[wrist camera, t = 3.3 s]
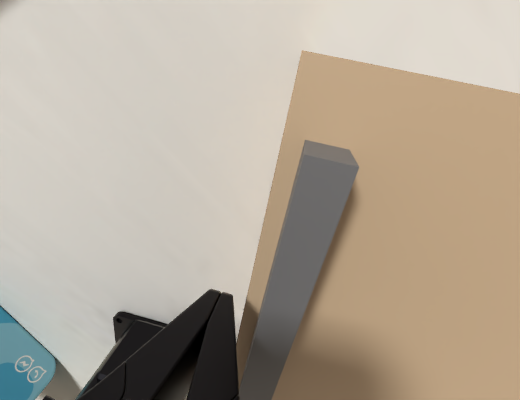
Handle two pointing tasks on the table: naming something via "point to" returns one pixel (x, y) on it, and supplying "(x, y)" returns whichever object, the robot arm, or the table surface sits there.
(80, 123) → the table surface
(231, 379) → the robot arm
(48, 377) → the data package
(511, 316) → the lid
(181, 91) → the table surface
